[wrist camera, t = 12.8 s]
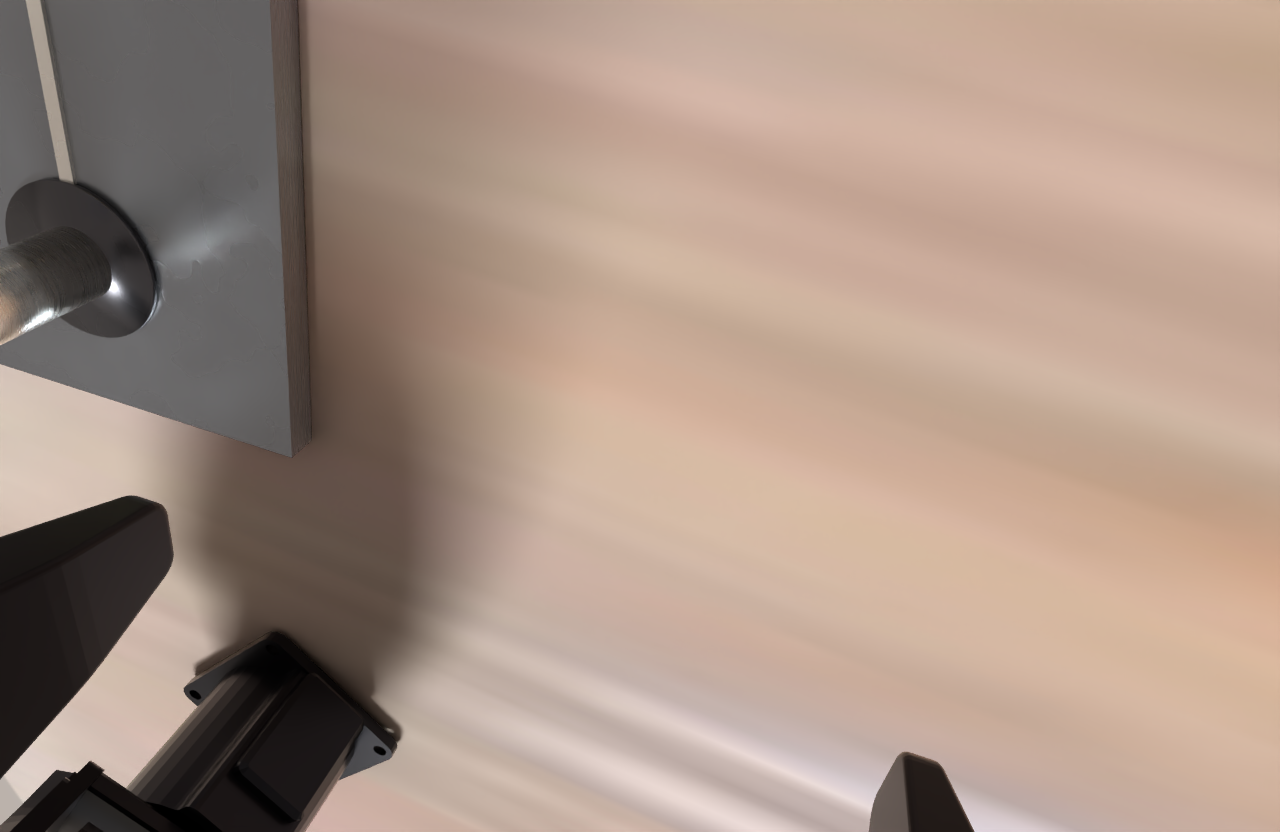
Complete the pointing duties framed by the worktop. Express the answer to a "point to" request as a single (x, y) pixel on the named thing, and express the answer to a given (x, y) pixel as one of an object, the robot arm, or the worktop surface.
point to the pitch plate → (158, 209)
